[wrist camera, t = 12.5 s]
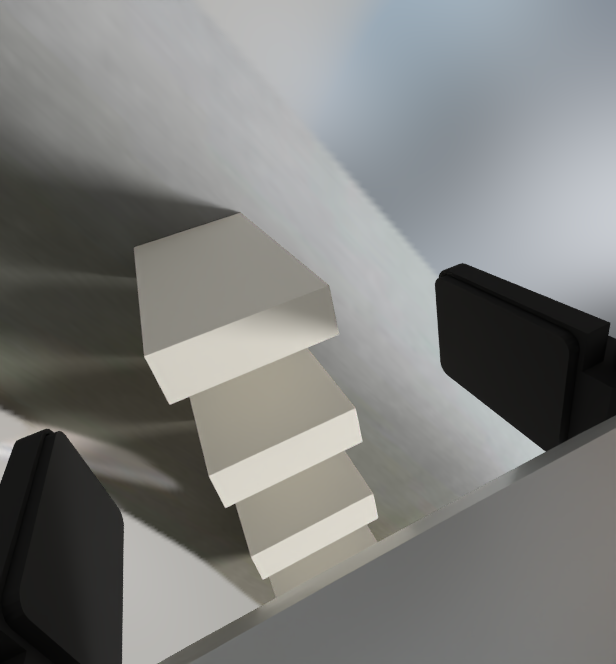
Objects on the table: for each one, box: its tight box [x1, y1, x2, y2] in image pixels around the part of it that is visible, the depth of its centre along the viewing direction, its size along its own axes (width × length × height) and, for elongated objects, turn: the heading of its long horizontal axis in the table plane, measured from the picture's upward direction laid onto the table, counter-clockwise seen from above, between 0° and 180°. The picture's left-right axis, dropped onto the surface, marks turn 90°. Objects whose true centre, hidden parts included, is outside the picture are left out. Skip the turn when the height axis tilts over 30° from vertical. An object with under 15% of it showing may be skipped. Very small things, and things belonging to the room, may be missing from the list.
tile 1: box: [269, 524, 378, 598], centre depth 22 cm, size 2×5×10 cm, turn 103°
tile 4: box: [134, 213, 339, 404], centre depth 15 cm, size 2×5×10 cm, turn 103°
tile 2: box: [235, 451, 378, 580], centre depth 20 cm, size 2×5×10 cm, turn 103°
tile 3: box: [190, 348, 362, 508], centre depth 18 cm, size 2×5×10 cm, turn 103°
